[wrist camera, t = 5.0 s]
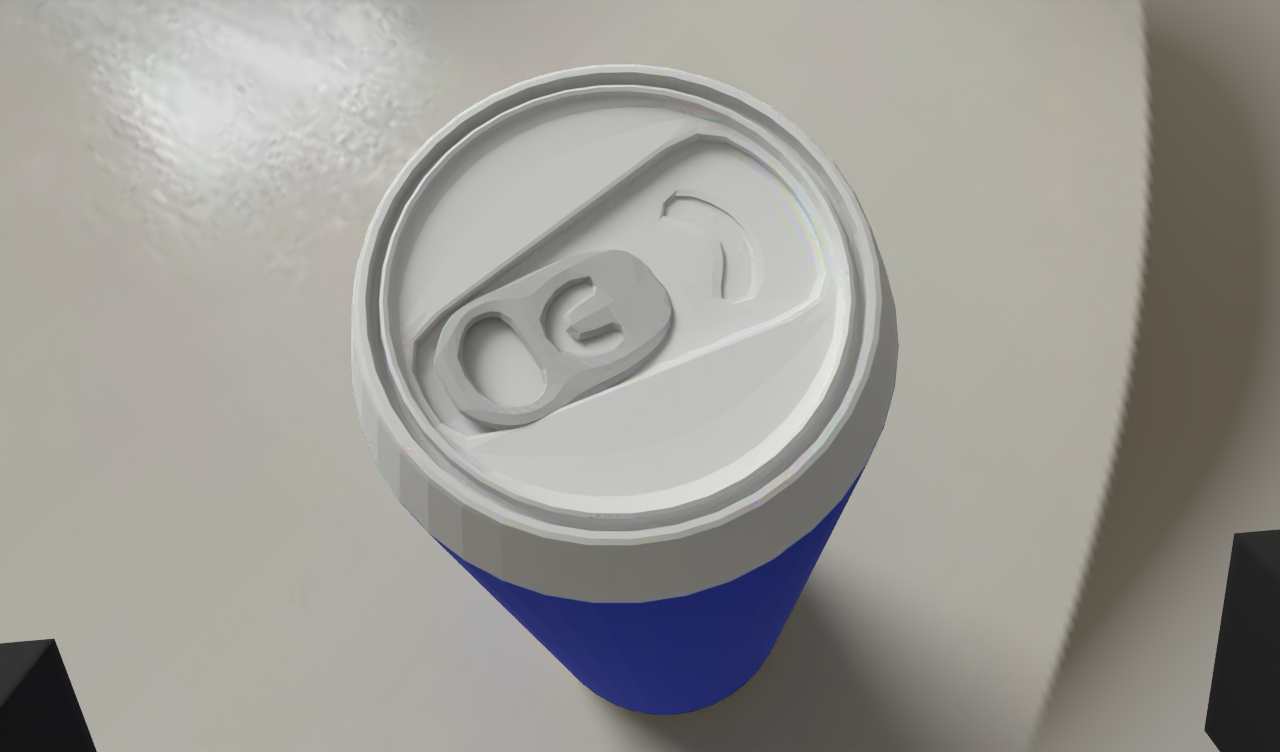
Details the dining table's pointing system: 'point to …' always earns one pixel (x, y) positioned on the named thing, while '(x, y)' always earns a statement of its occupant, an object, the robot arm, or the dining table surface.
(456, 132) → the beverage can
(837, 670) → the dining table surface
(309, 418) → the dining table surface
